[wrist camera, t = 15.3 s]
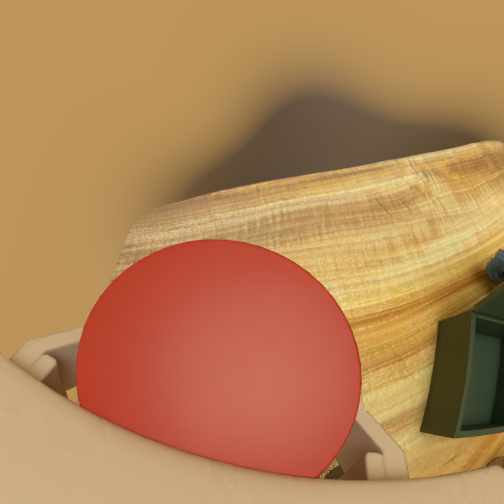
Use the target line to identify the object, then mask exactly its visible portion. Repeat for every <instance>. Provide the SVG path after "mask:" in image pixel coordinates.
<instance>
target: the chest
mask: <svg viewBox="0 0 504 504" xmlns="http://www.w3.org/2000/svg"><path fill="white" fill-rule="evenodd" d="M421 432H424V433H429V434H434V435H439V436H444V437H449V438H462V437H472V436H480V435H487V434H494V433H500V432H504V319H501V318H497V317H494V316H490V315H486V314H483V313H479V312H475V310H470V311H467V312H464V313H462V314H459V315H456V316H453V317H450V318H447V319H445V320H442V321H439V325H438V336H437V345H436V354H435V361H434V368H433V374H432V380H431V386H430V391H429V396H428V401H427V406H426V411H425V415H424V419H423V423H422V427H421Z"/></svg>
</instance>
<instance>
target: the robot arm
mask: <svg viewBox="0 0 504 504" xmlns="http://www.w3.org/2000/svg"><path fill="white" fill-rule="evenodd" d="M82 332H83V329H82V328H77V329H72V330H68V331H65V332H61V333H57V334H53V335H49V336H45V337H41V338H37V339H33V340H29V341H27V342H26V343H25V344H24V345H23V346H22V347H21V348H20V349H19V350H18V351H16V353H14V354H13V355H12V356H11V357H10V358H9V359H8V358H7V357H5V356H4V355H3V354H1V353H0V504H504V469H503V468H502V467H500V466H498V465H492V466H487V467H483V468H479V469H474V470H469V471H464V472H459V473H453V474H447V475H440V476H433V477H424V478H414V479H410V478H409V473H408V467H407V462H406V457H405V452H404V451H403V450H402V449H401V448H400V447H399V445H398V444H397V443H396V442H395V441H394V440H393V439H392V438H391V437H390V435H389V434H388V433H387V432H386V431H385V430H384V429H383V428H382V427H381V425H380V424H379V423H378V422H377V421H376V420H375V419H374V418H373V416H372V415H371V414H370V413H369V412H368V411H364V405H363V399H362V394H361V395H360V403H359V407H358V412H357V416H356V419H355V422H354V425H353V427H352V430H351V432H350V435H349V437H348V439H347V440H346V442H345V444H344V446H343V447H342V449H341V451H340V452H339V454H338V455H337V456H336V460H337V461H338V463H339V465H340V466H341V468H342V470H343V472H344V473H345V474H343V475H342V476H341V477H340V478H339V479H338V480H336V479H321V478H307V477H299V476H291V475H284V474H278V473H272V472H266V471H260V470H255V469H250V468H246V467H241V466H237V465H233V464H228V463H224V462H220V461H217V460H213V459H209V458H206V457H202V456H199V455H195V454H192V453H189V452H186V451H183V450H180V449H177V448H174V447H171V446H168V445H165V444H163V443H160V442H157V441H155V440H152V439H149V438H147V437H144V436H142V435H140V434H137V433H135V432H132V431H130V430H128V429H126V428H123V427H121V426H119V425H117V424H115V423H112V422H110V421H108V420H106V419H104V418H102V417H100V416H98V415H96V414H94V413H92V412H90V411H89V410H87V409H85V408H83V407H81V406H80V405H78V404H76V403H74V402H73V401H71V400H69V399H68V396H67V393H66V391H67V390H69V389H71V388H73V387H75V386H77V384H76V359H77V353H78V347H79V342H80V338H81V335H82Z"/></svg>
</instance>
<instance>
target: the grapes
mask: <svg viewBox="0 0 504 504" xmlns="http://www.w3.org/2000/svg"><path fill="white" fill-rule="evenodd" d="M486 273H487V274H488V275H489V278H490V279H491V281H493V282H494V283H496V284H498V283H499V282H500V280H502V281H503V282H504V250H502V249H499V250H498V252H497V253H496V255H495V257H494V258H491V259H490V260H489V262H488V263H487V266H486Z"/></svg>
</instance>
